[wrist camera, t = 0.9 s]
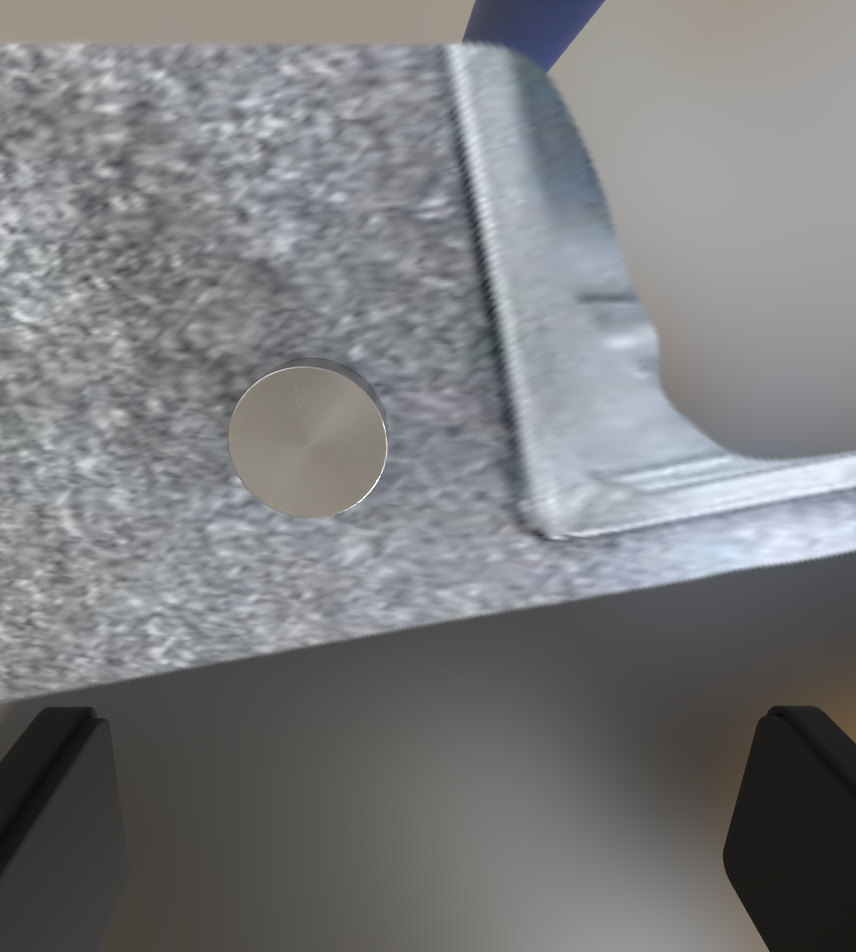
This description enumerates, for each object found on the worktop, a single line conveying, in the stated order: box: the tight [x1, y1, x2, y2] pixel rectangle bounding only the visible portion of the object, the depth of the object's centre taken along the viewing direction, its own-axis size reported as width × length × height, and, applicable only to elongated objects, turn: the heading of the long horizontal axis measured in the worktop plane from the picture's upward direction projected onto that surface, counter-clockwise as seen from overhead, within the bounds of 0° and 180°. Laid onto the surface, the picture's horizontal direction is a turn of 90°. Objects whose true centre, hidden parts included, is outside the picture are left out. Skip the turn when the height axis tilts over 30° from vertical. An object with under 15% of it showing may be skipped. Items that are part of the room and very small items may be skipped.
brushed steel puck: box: [228, 358, 388, 518], centre depth 28 cm, size 7×7×2 cm
